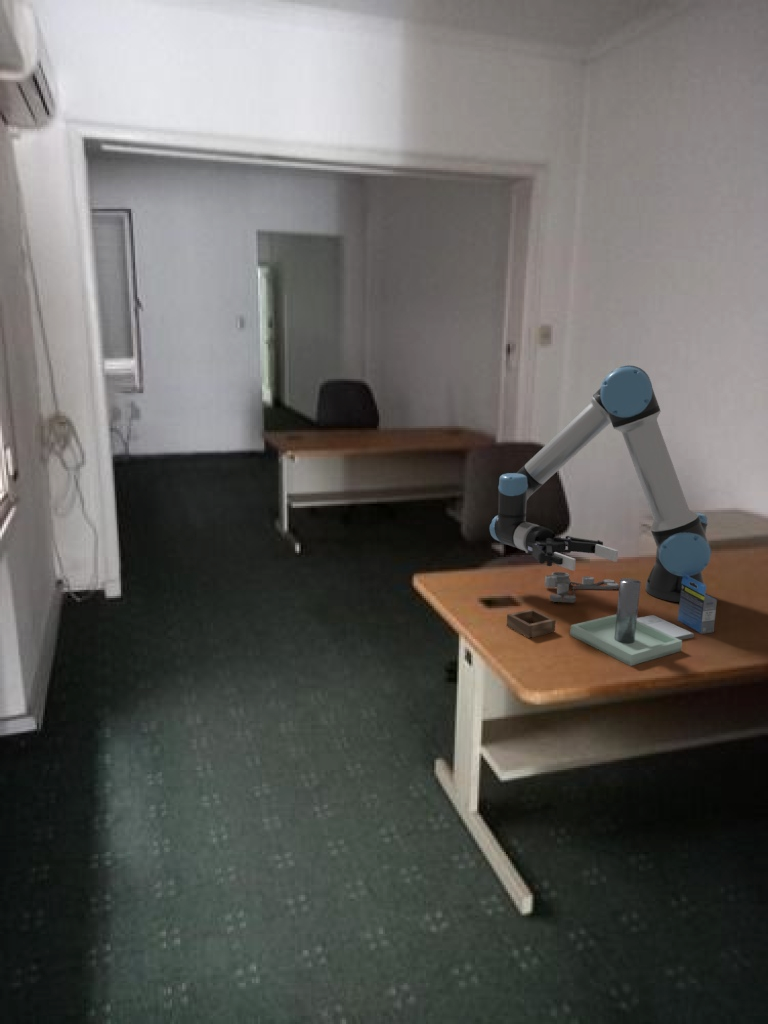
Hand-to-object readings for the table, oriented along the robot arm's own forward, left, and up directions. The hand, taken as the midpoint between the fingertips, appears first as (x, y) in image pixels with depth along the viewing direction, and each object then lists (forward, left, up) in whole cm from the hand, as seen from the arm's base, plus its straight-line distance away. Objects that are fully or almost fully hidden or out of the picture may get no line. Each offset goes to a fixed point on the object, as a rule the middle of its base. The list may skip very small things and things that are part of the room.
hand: (595, 560), depth 164 cm
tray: (-1, +10, -17) cm, 20 cm away
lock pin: (-1, +10, -16) cm, 19 cm away
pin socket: (+13, -6, -17) cm, 22 cm away
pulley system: (-16, -22, -18) cm, 32 cm away
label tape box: (-24, +11, -17) cm, 31 cm away
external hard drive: (-14, +9, -18) cm, 24 cm away
